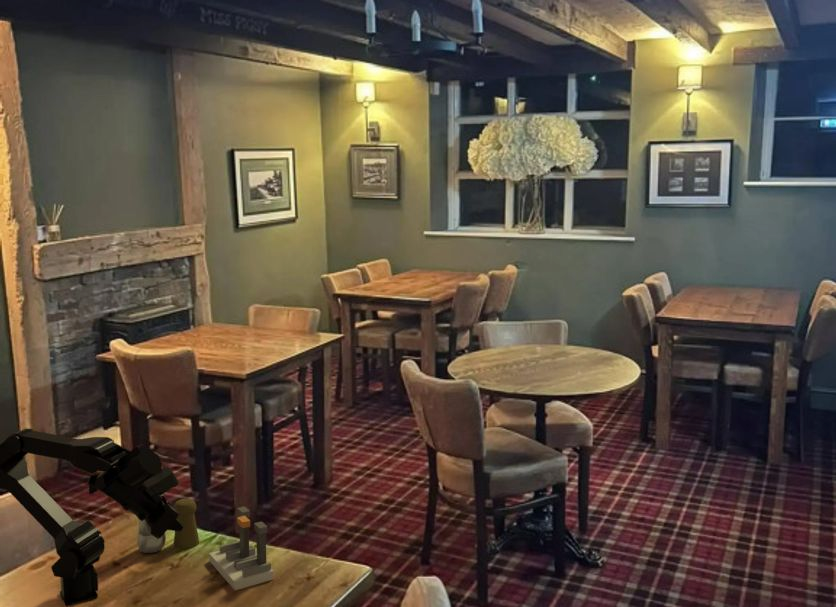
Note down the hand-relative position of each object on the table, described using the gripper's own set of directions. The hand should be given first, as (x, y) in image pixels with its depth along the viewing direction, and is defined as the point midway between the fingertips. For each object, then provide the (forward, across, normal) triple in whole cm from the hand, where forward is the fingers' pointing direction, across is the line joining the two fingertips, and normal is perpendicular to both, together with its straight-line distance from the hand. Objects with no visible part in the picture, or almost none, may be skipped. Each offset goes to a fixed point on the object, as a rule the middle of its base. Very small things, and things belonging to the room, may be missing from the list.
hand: (181, 528), depth 173 cm
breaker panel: (+18, 0, 0) cm, 19 cm away
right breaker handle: (+19, -5, -4) cm, 20 cm away
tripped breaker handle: (+18, 0, -2) cm, 18 cm away
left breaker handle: (+19, +5, -4) cm, 20 cm away
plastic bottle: (+9, +21, +10) cm, 25 cm away
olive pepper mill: (+14, +20, +5) cm, 25 cm away
